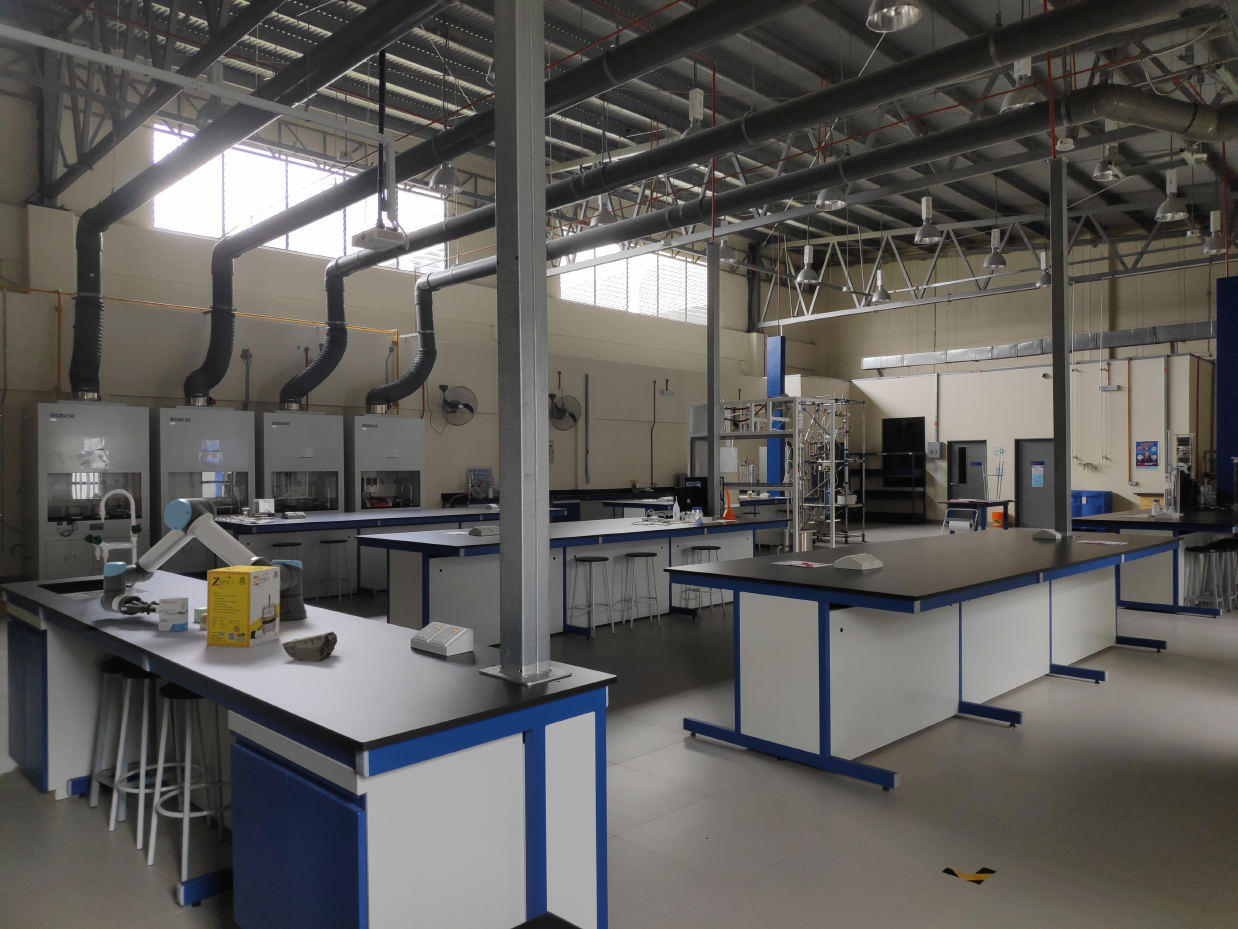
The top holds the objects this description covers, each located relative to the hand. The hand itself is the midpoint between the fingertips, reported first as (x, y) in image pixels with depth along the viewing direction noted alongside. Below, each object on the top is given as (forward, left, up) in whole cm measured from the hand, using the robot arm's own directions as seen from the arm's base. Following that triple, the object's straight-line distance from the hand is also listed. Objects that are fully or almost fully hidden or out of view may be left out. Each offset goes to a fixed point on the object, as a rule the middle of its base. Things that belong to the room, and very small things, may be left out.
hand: (162, 610), depth 300 cm
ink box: (-7, +1, -7) cm, 10 cm away
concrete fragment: (-85, +13, -7) cm, 86 cm away
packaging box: (-46, +5, -7) cm, 47 cm away
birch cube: (-14, -8, -7) cm, 18 cm away
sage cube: (-1, -17, -7) cm, 18 cm away
